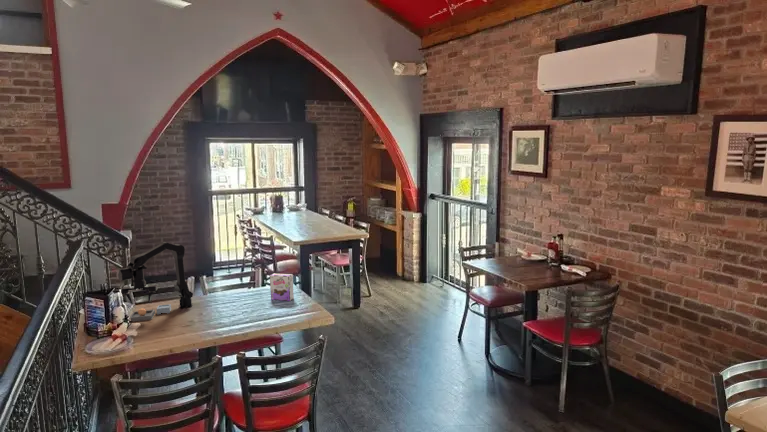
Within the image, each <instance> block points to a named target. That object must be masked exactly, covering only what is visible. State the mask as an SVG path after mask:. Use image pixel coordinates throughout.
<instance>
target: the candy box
mask: <svg viewBox="0 0 767 432" xmlns="http://www.w3.org/2000/svg"><path fill="white" fill-rule="evenodd" d="M293 276H294V275H293V273H275V272H274V273H272V274H269V282H270V283H269V287H270V300H271V301H285V302H286V301H287V302H291V301H293V300H295V297H294V277H293Z"/></svg>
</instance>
